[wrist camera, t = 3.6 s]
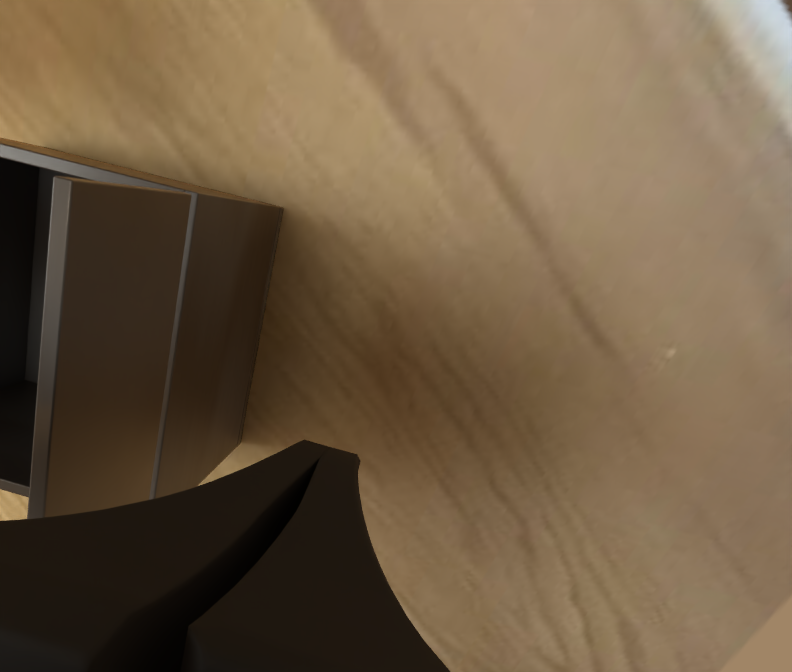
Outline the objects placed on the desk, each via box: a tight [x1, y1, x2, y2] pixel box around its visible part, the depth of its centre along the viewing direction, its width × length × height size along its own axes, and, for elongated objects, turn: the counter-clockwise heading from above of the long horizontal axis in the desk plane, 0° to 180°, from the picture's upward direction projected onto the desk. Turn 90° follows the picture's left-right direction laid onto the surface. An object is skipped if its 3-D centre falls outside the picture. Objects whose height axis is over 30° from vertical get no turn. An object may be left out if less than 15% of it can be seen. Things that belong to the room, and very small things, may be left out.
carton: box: [0, 138, 283, 500], centre depth 18 cm, size 11×11×7 cm
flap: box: [27, 176, 192, 519], centre depth 11 cm, size 11×5×1 cm
